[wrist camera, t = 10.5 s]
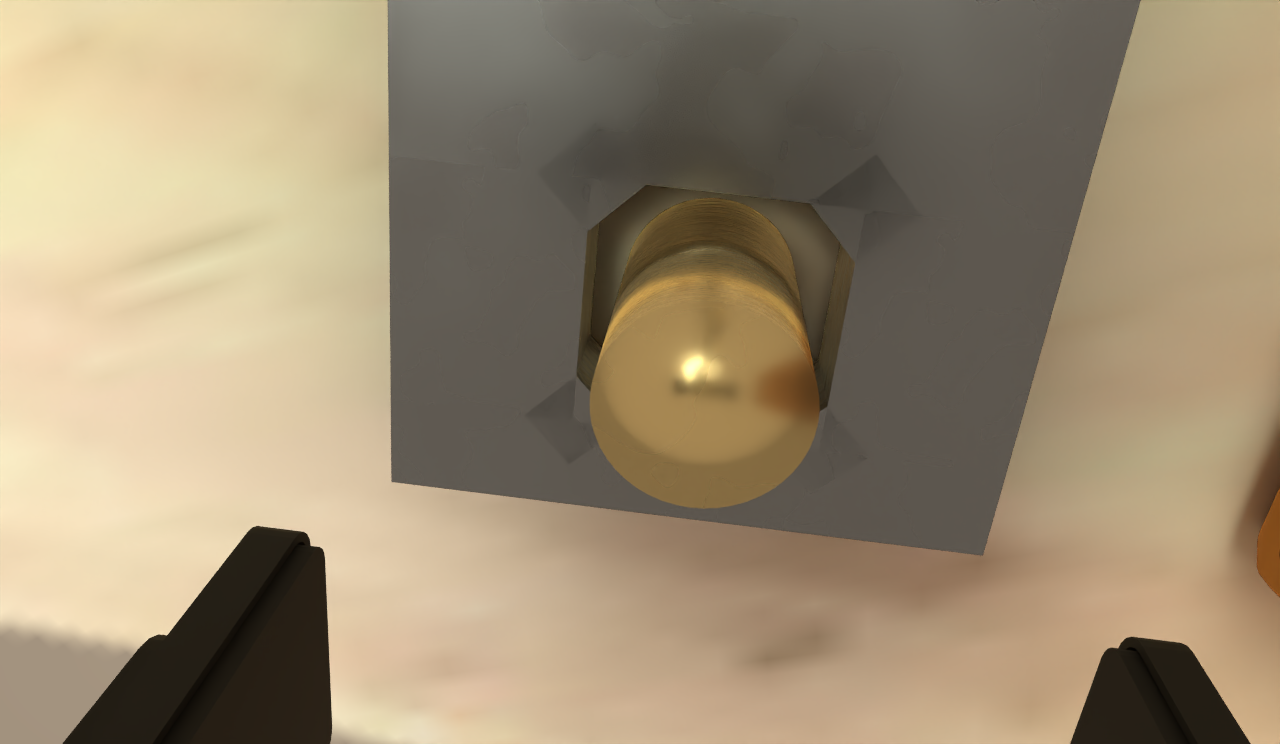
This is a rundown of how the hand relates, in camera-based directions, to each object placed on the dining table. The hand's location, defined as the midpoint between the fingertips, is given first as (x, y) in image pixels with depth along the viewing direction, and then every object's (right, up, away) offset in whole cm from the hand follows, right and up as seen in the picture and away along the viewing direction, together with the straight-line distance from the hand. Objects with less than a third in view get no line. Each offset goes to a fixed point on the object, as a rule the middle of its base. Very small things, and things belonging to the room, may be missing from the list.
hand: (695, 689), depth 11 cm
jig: (+2, +10, +11) cm, 15 cm away
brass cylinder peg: (+1, +6, +13) cm, 14 cm away
